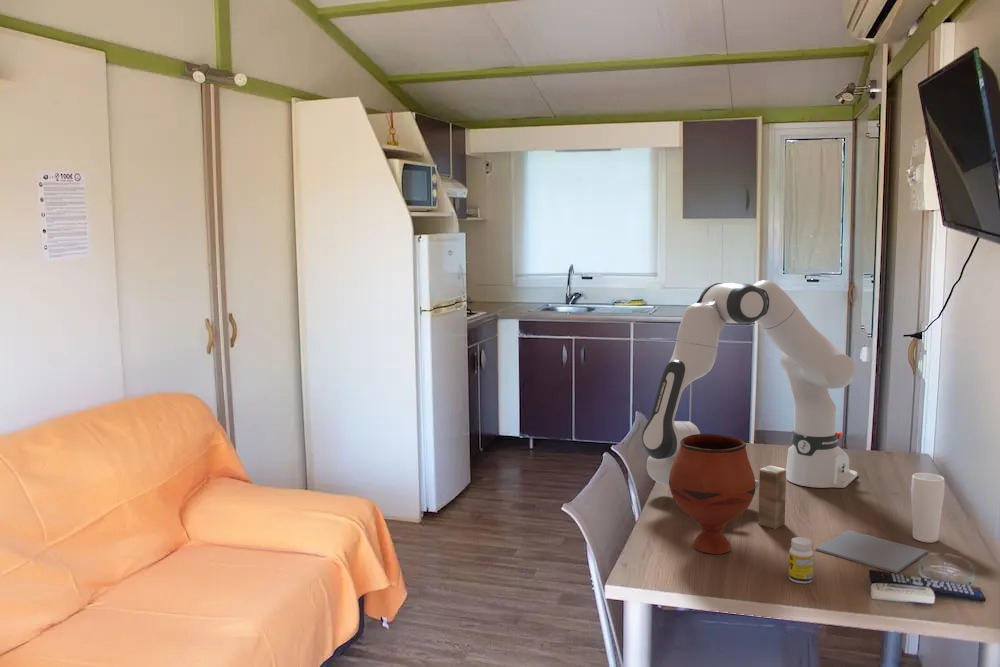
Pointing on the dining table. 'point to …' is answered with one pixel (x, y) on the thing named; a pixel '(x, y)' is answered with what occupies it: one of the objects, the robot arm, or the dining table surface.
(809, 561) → the supplement bottle
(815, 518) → the dining table surface
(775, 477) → the light wooden block
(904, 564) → the rubber mat
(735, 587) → the dining table surface
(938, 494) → the drinking glass
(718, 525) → the goblet
